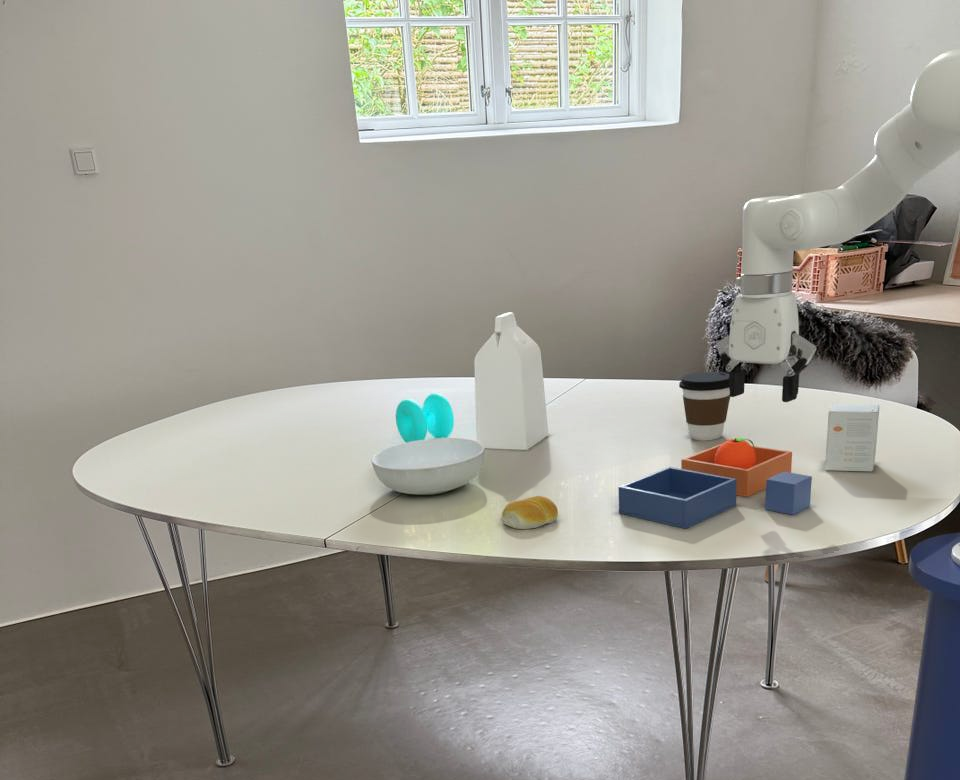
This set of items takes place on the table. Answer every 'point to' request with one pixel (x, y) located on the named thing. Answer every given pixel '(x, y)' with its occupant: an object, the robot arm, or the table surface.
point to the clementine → (736, 454)
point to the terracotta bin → (747, 479)
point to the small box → (852, 437)
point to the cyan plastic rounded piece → (424, 418)
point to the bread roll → (530, 513)
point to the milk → (509, 389)
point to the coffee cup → (706, 403)
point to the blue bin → (677, 496)
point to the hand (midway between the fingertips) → (762, 397)
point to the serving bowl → (429, 465)
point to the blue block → (788, 493)
